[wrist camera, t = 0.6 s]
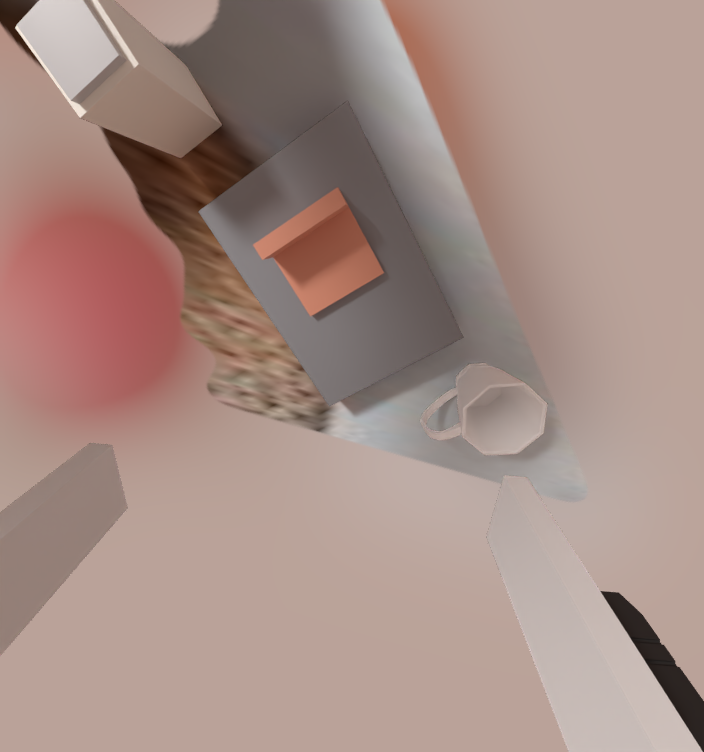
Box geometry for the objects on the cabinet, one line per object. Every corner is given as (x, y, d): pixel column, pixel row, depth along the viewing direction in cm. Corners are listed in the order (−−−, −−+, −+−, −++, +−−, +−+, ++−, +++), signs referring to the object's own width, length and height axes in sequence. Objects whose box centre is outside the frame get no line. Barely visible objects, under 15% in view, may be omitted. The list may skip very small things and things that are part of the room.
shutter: (263, 239, 29) (249, 239, 25) (338, 188, 27) (334, 181, 24) (311, 315, 31) (304, 324, 27) (383, 272, 29) (385, 277, 26)
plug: (144, 102, 28) (3, 21, 17) (186, 65, 27) (64, -46, 16) (180, 158, 29) (71, 114, 19) (222, 125, 28) (131, 58, 18)
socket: (213, 213, 31) (198, 211, 28) (350, 113, 28) (347, 100, 25) (332, 393, 37) (329, 406, 34) (456, 328, 34) (463, 337, 31)
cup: (521, 396, 36) (560, 439, 28) (430, 433, 38) (444, 481, 31) (498, 337, 34) (534, 366, 26) (403, 379, 36) (411, 417, 28)
